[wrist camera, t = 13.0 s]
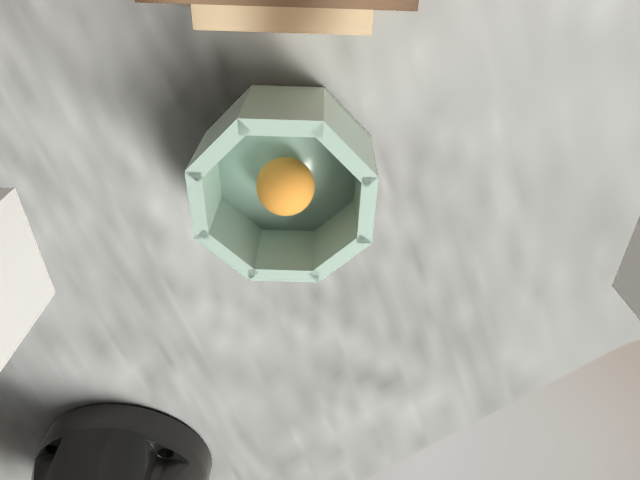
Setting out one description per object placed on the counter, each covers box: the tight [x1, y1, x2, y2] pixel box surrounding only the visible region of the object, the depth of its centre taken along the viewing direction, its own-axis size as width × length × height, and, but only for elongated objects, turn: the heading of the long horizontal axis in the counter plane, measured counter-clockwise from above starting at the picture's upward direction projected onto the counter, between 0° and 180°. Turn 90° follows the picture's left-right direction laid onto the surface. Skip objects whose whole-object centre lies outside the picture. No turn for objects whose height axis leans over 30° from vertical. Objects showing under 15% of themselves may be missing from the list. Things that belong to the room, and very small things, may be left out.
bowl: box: [184, 85, 379, 282], centre depth 27 cm, size 9×9×5 cm
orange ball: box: [256, 157, 315, 216], centre depth 27 cm, size 3×3×3 cm
